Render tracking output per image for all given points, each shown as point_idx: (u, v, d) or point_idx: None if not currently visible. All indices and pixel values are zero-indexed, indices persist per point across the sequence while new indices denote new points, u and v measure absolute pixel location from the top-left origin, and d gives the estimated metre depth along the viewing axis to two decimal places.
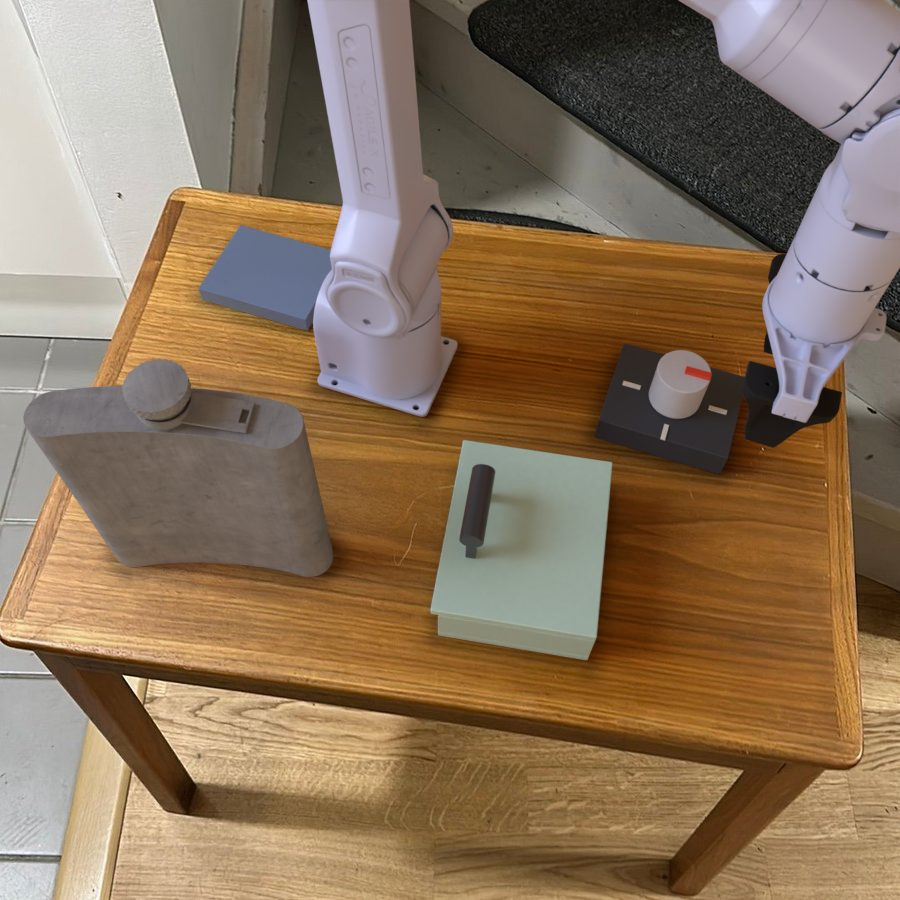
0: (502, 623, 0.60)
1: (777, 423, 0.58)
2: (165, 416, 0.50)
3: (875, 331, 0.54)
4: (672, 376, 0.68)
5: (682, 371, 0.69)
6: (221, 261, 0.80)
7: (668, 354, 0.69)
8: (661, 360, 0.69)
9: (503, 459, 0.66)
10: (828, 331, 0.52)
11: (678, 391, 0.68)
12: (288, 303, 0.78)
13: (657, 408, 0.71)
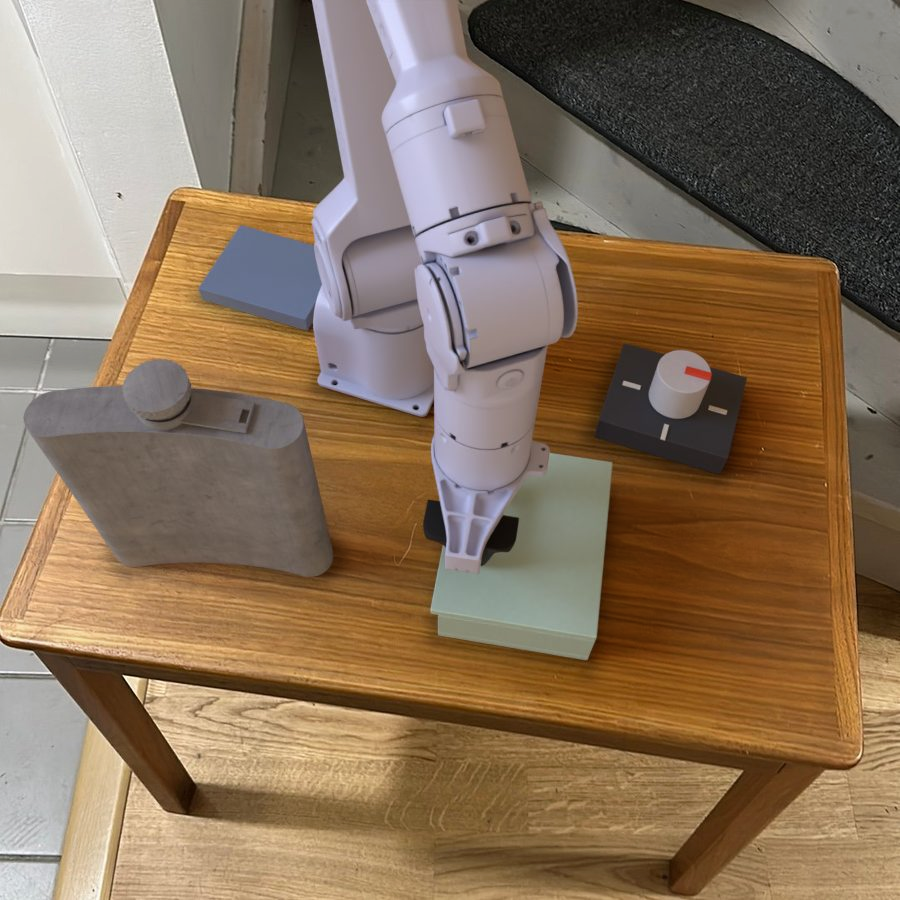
0: (502, 623, 0.60)
1: None
2: (165, 416, 0.50)
3: (538, 468, 0.54)
4: (672, 376, 0.68)
5: (682, 371, 0.69)
6: (221, 261, 0.80)
7: (668, 354, 0.69)
8: (661, 360, 0.69)
9: None
10: (486, 480, 0.53)
11: (678, 391, 0.68)
12: (288, 303, 0.78)
13: (657, 408, 0.71)
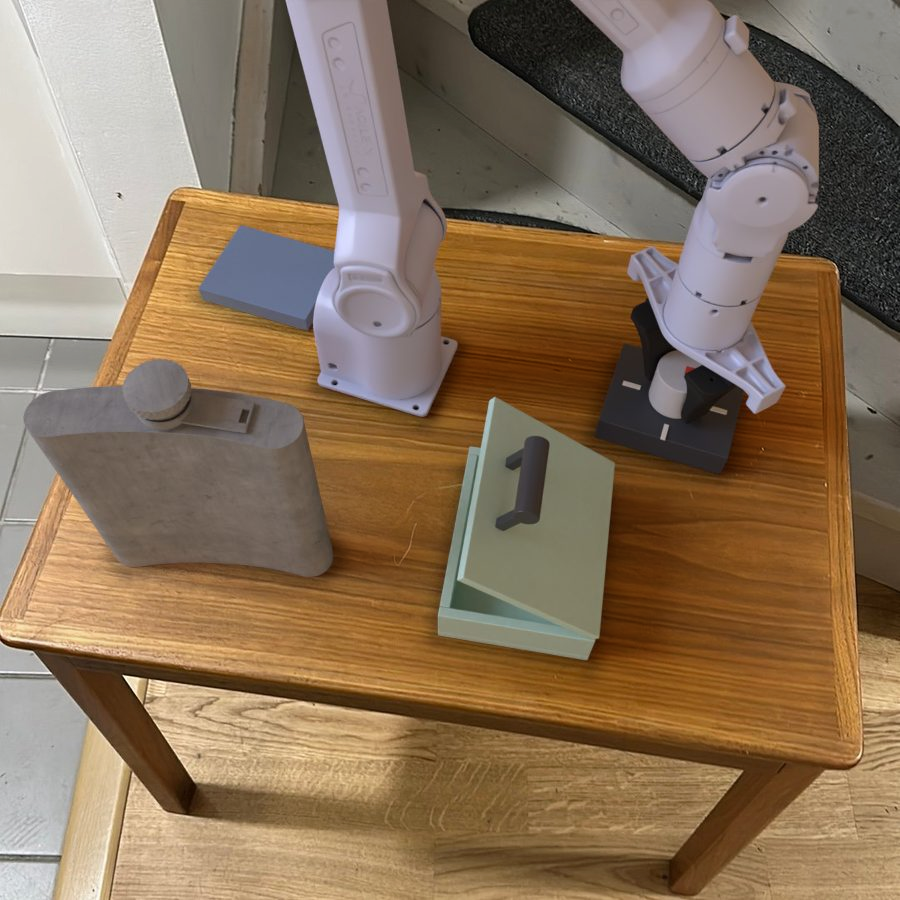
0: (522, 606, 0.57)
1: None
2: (165, 416, 0.50)
3: None
4: (672, 376, 0.68)
5: (682, 371, 0.69)
6: (221, 261, 0.80)
7: (668, 354, 0.69)
8: (661, 360, 0.69)
9: (529, 430, 0.63)
10: (742, 331, 0.61)
11: (678, 391, 0.68)
12: (288, 303, 0.78)
13: (657, 408, 0.71)
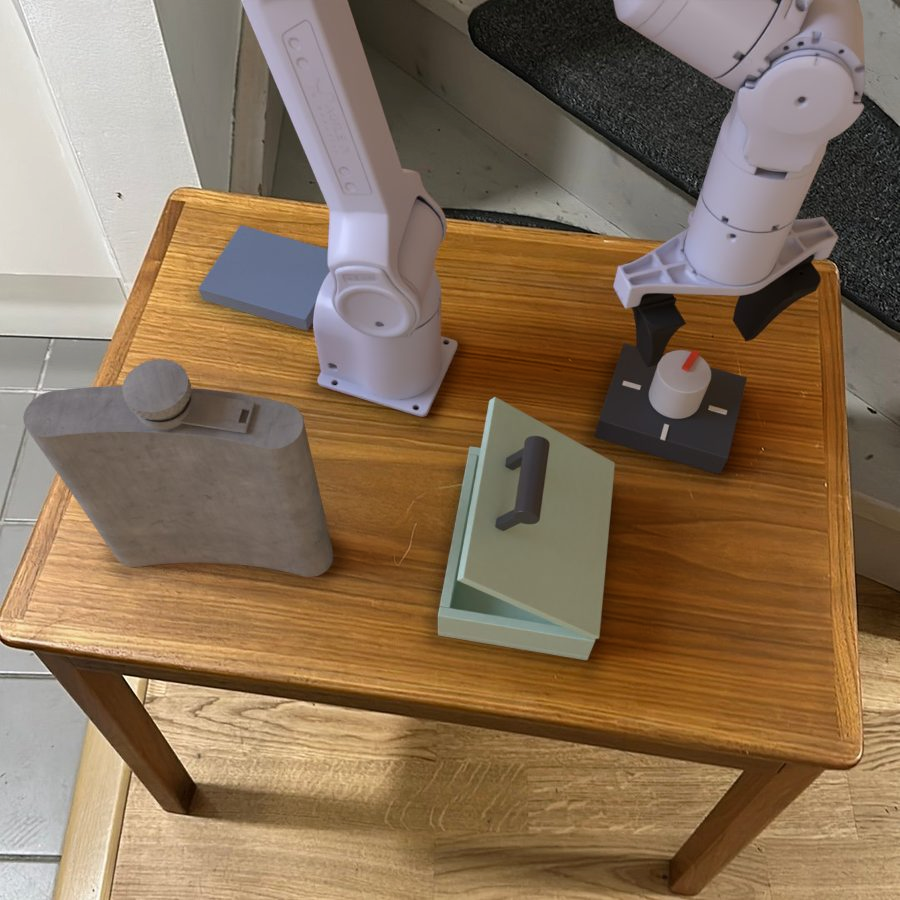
0: (522, 606, 0.57)
1: None
2: (165, 416, 0.50)
3: None
4: (690, 382, 0.68)
5: (685, 372, 0.69)
6: (221, 261, 0.80)
7: (662, 377, 0.68)
8: (669, 385, 0.68)
9: (529, 430, 0.63)
10: None
11: (708, 383, 0.68)
12: (288, 303, 0.78)
13: (690, 414, 0.70)
